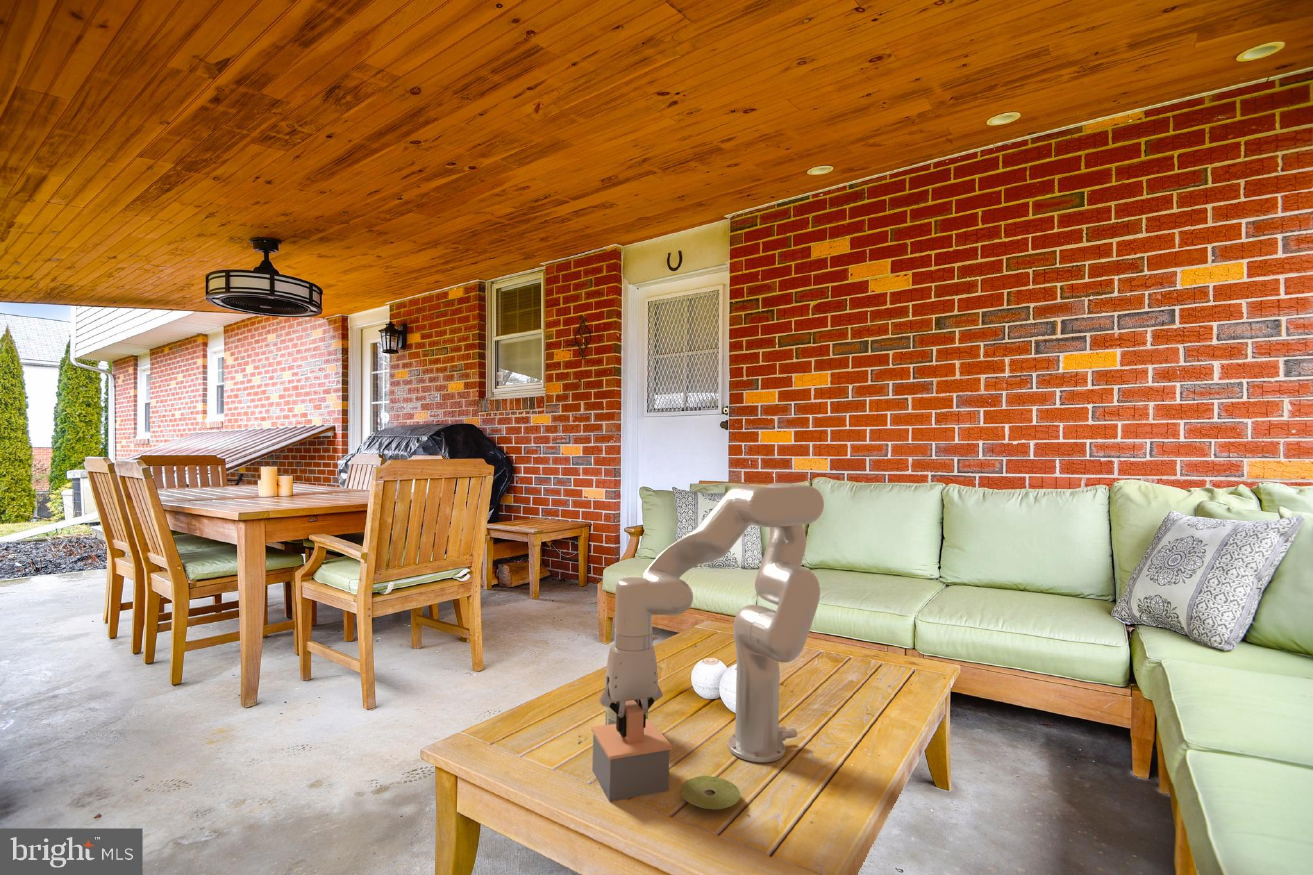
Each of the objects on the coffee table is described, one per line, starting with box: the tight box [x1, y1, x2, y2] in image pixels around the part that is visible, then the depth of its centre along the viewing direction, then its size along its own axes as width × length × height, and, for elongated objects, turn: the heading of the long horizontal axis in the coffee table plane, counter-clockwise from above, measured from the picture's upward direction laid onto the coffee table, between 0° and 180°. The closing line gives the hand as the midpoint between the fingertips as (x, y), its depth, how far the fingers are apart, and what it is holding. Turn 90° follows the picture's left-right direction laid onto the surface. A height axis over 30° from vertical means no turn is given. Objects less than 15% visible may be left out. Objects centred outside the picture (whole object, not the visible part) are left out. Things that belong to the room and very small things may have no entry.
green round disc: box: [680, 775, 741, 810], centre depth 114 cm, size 11×11×2 cm
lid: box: [590, 700, 673, 760], centre depth 121 cm, size 13×13×7 cm
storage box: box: [591, 733, 670, 802], centre depth 121 cm, size 12×12×8 cm
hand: (630, 732), depth 121 cm, fingers closed on lid, 3 cm apart
